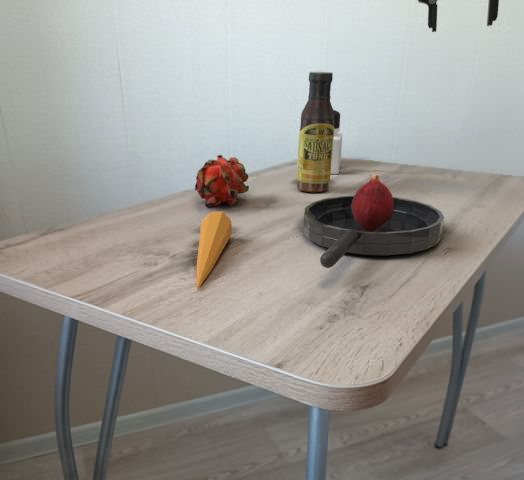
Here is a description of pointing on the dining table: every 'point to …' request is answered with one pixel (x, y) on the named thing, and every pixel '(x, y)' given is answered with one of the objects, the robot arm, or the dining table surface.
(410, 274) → the dining table surface
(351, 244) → the pan handle
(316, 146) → the sauce bottle
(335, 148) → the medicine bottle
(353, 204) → the onion
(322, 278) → the dining table surface
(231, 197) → the dragon fruit
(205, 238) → the carrot
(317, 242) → the pan
